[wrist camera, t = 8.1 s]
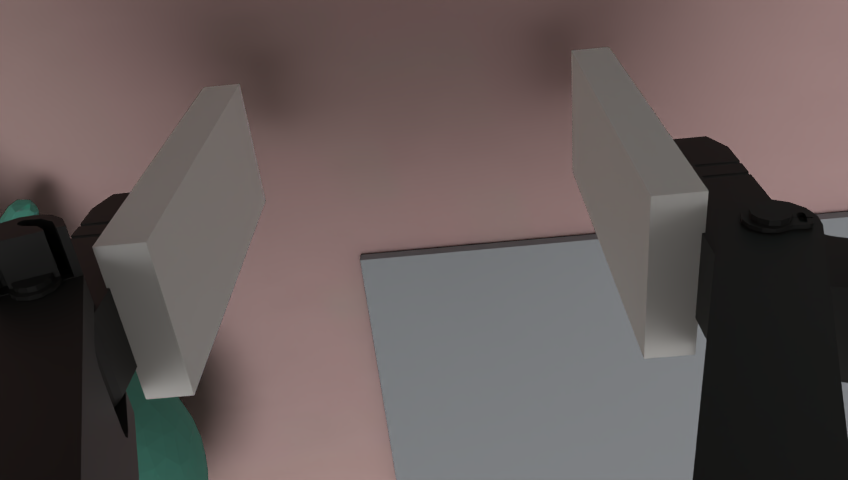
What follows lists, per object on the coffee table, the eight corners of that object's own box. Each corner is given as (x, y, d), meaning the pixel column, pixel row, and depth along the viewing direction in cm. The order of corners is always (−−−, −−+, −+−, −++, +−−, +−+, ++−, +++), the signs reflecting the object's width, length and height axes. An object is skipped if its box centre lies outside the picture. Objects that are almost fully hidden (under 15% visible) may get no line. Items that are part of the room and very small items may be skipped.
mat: (360, 254, 23) (360, 260, 22) (1022, 195, 22) (1030, 200, 22) (425, 648, 32) (425, 655, 31) (896, 617, 31) (901, 624, 30)
